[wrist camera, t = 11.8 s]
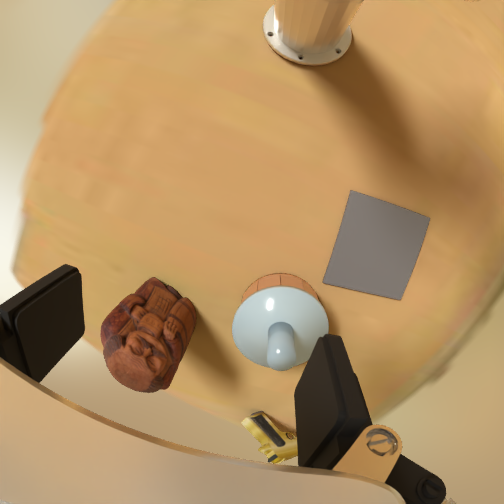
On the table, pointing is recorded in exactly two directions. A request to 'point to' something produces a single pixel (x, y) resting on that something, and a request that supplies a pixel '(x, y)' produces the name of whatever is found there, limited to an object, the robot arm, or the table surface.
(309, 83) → the table surface
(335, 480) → the robot arm
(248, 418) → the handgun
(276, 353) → the lid
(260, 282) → the bowl
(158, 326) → the wooden figurine
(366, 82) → the table surface
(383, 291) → the mat
